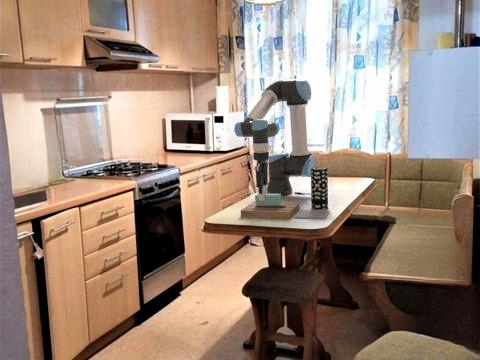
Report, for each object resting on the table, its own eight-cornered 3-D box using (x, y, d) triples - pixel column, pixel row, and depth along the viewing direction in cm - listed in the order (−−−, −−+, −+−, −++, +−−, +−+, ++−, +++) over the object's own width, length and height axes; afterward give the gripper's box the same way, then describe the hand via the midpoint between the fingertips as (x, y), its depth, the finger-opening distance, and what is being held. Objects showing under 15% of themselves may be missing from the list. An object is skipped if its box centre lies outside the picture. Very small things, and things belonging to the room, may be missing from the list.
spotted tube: (308, 207, 261) (307, 168, 258) (322, 205, 264) (322, 166, 261) (316, 210, 253) (315, 170, 250) (331, 208, 256) (330, 168, 253)
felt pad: (301, 211, 253) (301, 210, 253) (329, 212, 248) (329, 211, 248) (294, 218, 240) (294, 216, 240) (324, 219, 235) (324, 218, 235)
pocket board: (253, 208, 264) (253, 201, 263) (299, 209, 256) (299, 202, 255) (240, 217, 245) (240, 210, 245) (290, 219, 238) (289, 212, 237)
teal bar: (258, 203, 255) (257, 193, 254) (281, 203, 251) (280, 193, 250) (255, 205, 251) (254, 195, 250) (279, 205, 247) (278, 195, 246)
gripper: (258, 149, 256) (260, 195, 260) (247, 154, 240) (250, 202, 245) (273, 149, 254) (274, 195, 258) (263, 154, 238) (265, 203, 242)
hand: (262, 198), depth 251 cm, fingers closed on teal bar, 4 cm apart
